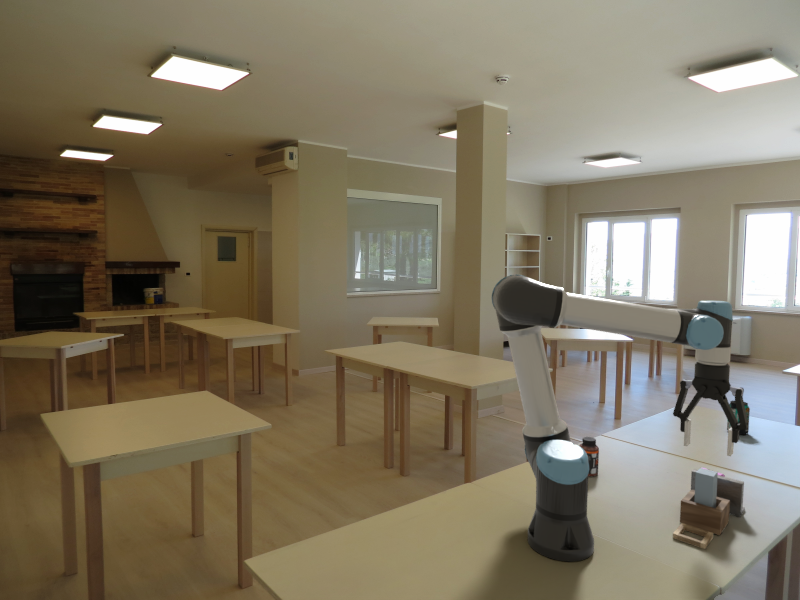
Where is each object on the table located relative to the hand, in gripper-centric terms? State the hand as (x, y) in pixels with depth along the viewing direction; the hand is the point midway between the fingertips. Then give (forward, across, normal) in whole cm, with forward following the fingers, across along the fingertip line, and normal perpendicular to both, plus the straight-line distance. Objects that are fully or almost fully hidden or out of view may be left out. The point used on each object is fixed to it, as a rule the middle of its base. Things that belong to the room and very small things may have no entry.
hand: (707, 449), depth 133 cm
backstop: (+19, 0, -12) cm, 23 cm away
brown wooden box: (+19, 0, 0) cm, 19 cm away
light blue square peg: (+18, 0, 0) cm, 18 cm away
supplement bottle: (+20, +35, -9) cm, 41 cm away
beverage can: (+20, +10, -87) cm, 90 cm away
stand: (+19, 0, +10) cm, 22 cm away
